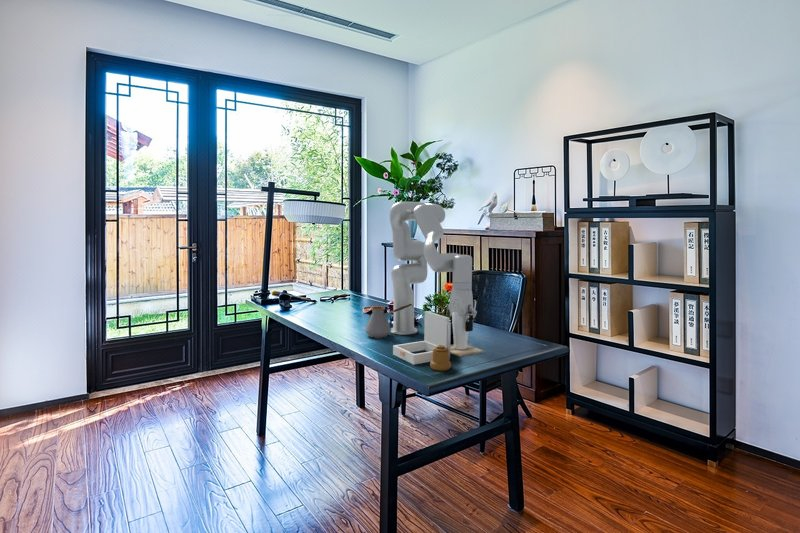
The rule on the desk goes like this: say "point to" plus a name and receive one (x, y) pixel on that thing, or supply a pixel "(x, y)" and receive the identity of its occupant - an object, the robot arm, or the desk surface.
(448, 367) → the ornamental finial
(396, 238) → the robot arm
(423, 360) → the open case
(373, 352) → the desk surface
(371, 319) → the coffee pot
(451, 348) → the wooden pad
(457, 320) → the drinking glass
